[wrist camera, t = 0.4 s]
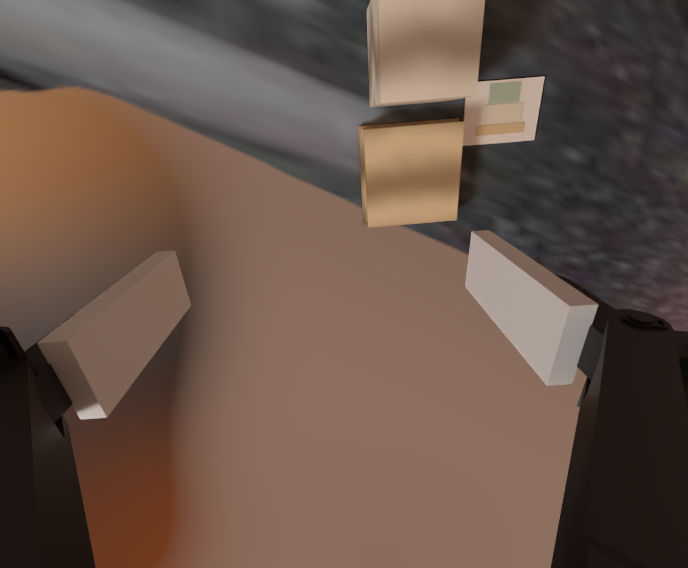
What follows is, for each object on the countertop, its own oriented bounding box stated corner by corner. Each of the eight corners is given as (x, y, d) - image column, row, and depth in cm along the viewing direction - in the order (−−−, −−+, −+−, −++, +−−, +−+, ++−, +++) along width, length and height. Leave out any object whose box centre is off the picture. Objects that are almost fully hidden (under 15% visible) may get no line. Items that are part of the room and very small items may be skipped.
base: (358, 126, 35) (361, 126, 33) (457, 118, 35) (467, 117, 33) (363, 223, 40) (365, 230, 37) (450, 215, 40) (459, 222, 37)
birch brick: (366, 11, 31) (378, -22, 24) (451, 4, 31) (487, -31, 24) (369, 107, 35) (380, 103, 27) (445, 101, 35) (476, 95, 27)
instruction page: (466, 82, 34) (467, 82, 34) (543, 76, 34) (545, 76, 34) (461, 145, 37) (462, 146, 36) (533, 140, 37) (534, 140, 36)
